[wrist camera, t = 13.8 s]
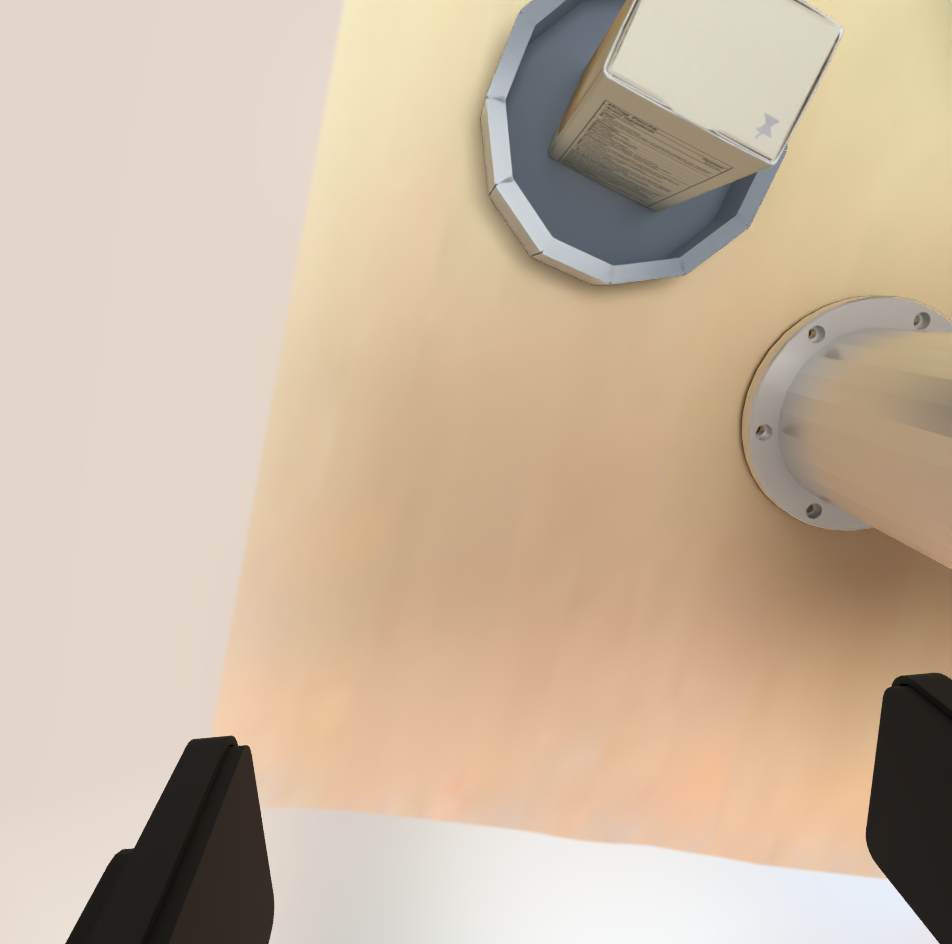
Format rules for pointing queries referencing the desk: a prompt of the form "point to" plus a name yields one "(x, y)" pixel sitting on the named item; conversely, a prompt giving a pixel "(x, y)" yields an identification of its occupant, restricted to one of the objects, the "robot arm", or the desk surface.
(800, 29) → the skincare box
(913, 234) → the desk surface
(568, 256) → the slate bowl
